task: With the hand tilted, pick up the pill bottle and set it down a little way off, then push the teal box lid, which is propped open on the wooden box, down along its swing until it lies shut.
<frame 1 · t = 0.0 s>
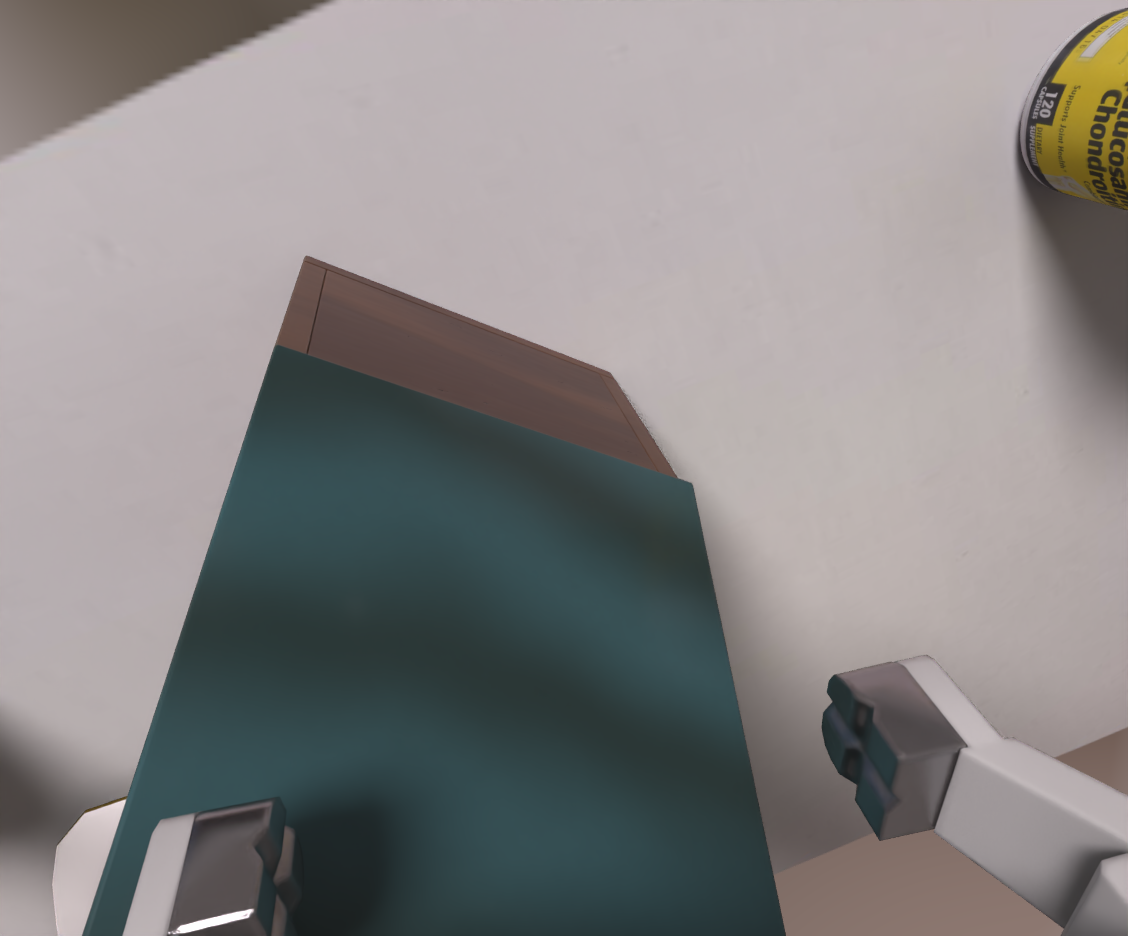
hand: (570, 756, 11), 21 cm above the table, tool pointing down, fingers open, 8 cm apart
pill bottle: (1082, 103, 30), on the table
teal box lid: (499, 710, 16), point 17 cm above the table, hinge at 70.3°
wooden box: (401, 481, 32), on the table
plate: (277, 882, 44), on the table
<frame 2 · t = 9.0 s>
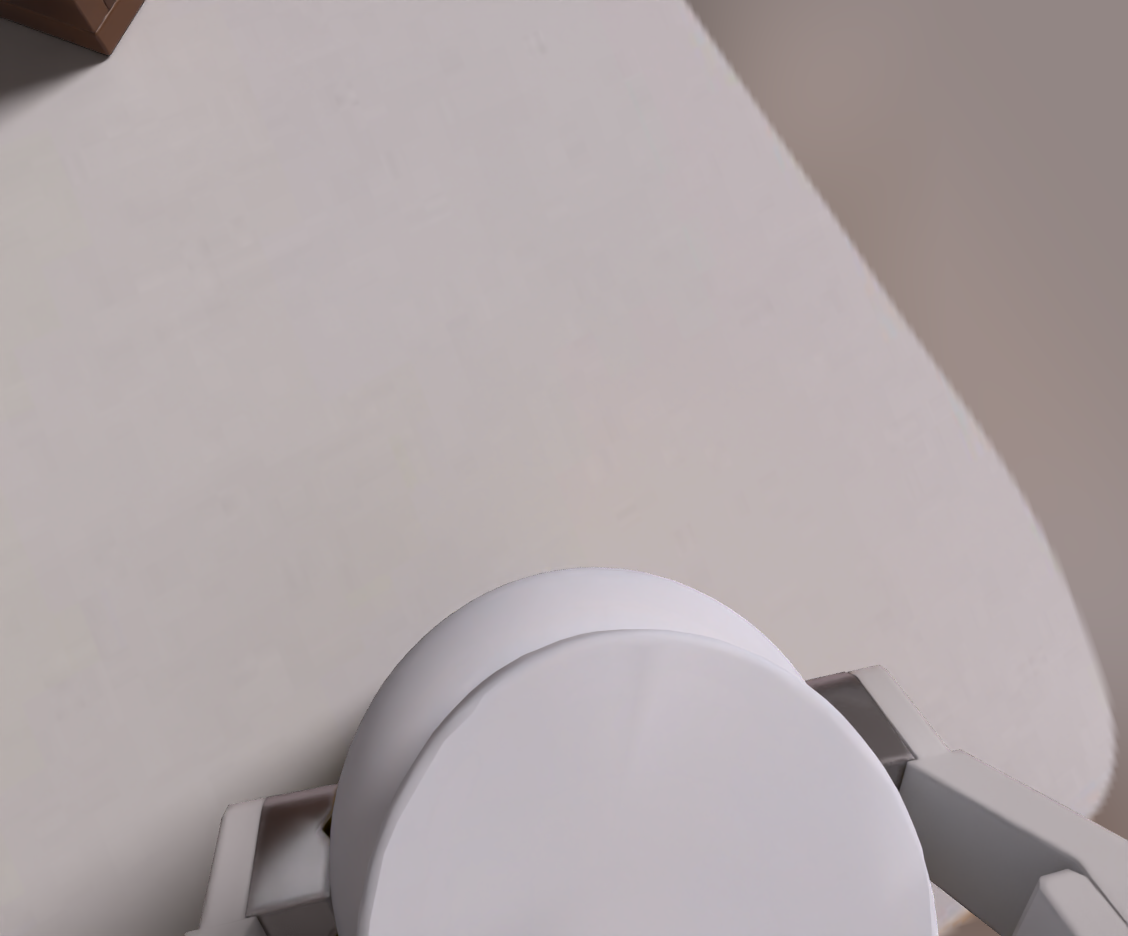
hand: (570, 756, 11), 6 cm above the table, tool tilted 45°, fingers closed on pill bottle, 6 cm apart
pill bottle: (549, 745, 17), on the table, touching gripper
when the fingers open (6 cm above the table, at t = 16.6 s): pill bottle stays where it is, on the table.
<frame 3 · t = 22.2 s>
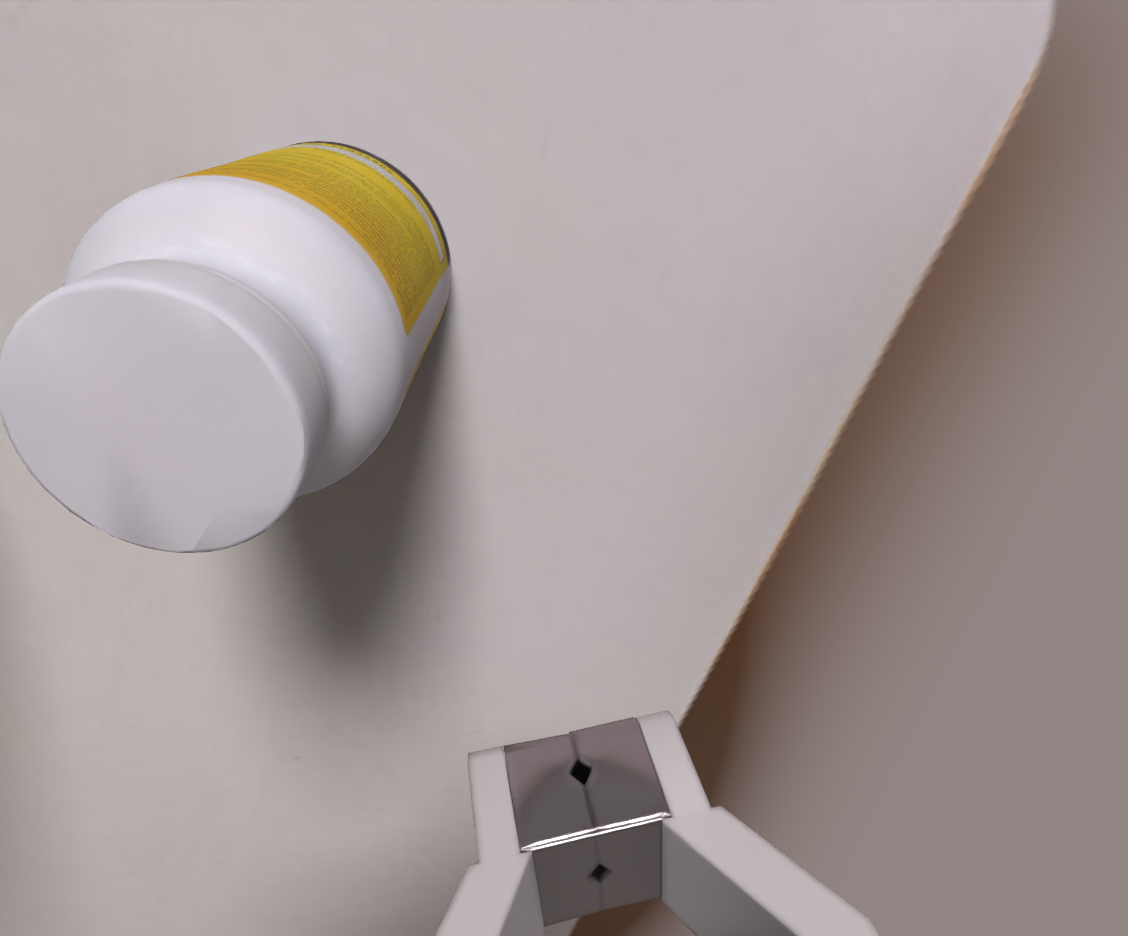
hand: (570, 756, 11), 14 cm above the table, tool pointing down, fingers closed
pill bottle: (345, 258, 22), on the table
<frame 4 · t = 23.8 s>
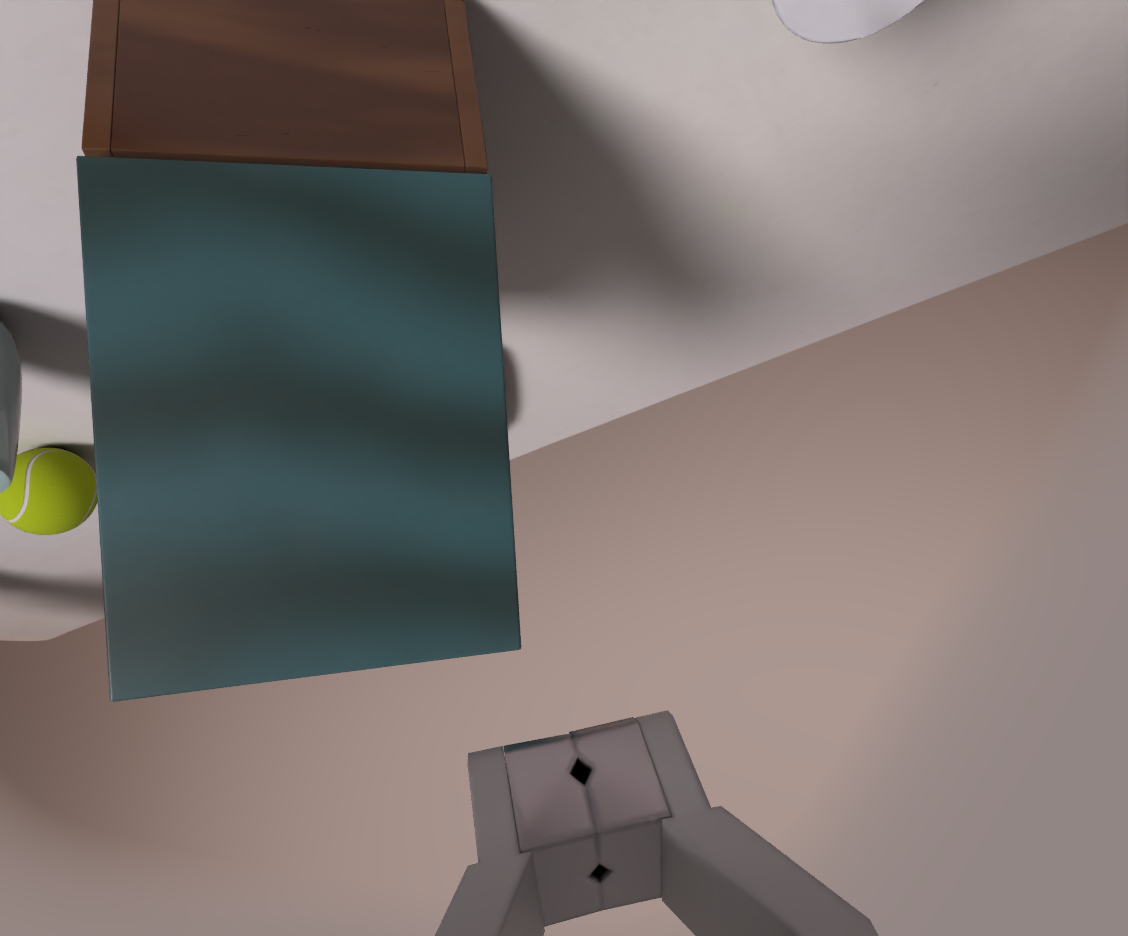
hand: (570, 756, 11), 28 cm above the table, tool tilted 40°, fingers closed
teal box lid: (314, 420, 24), point 17 cm above the table, hinge at 70.3°
tennis ball: (51, 448, 61), on the table
wooden box: (308, 129, 34), on the table
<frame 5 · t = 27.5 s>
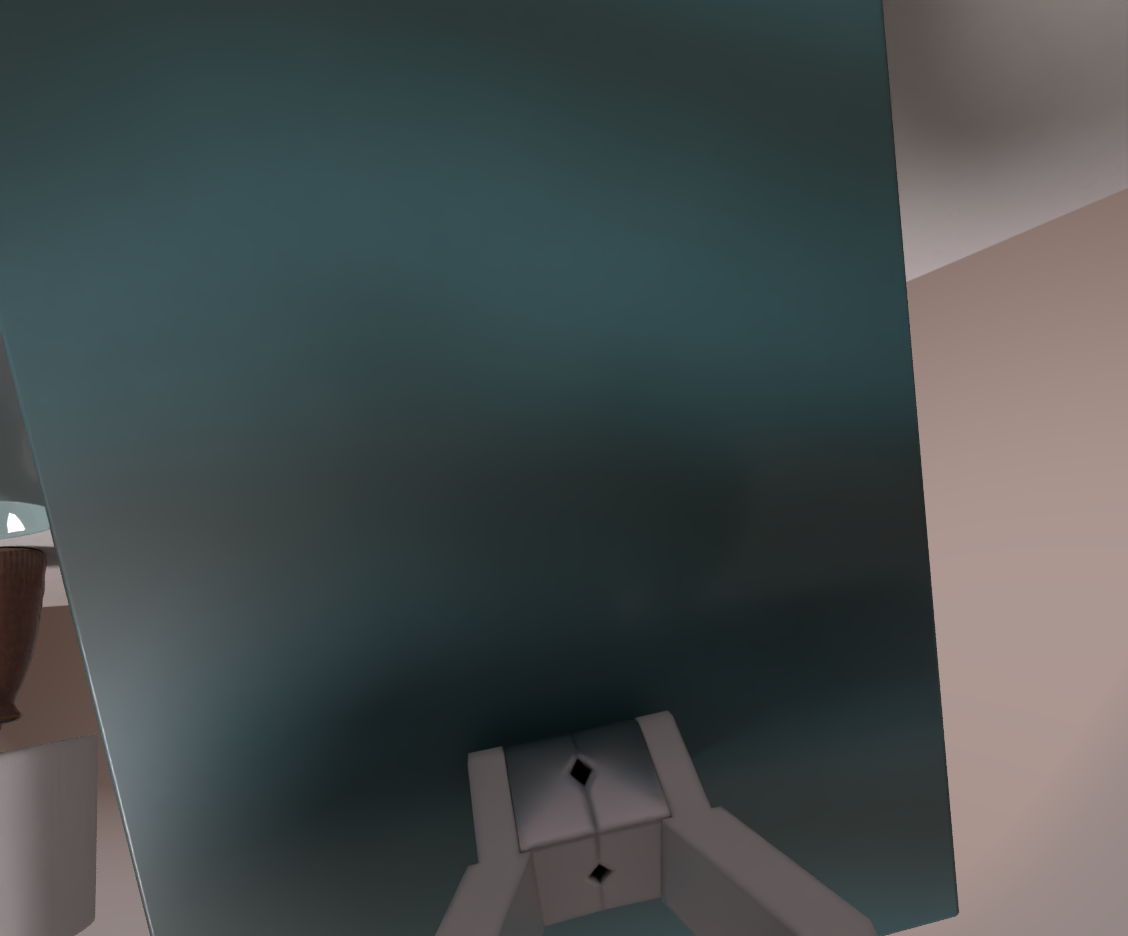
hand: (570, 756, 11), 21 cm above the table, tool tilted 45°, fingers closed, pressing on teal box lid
teal box lid: (524, 511, 11), point 17 cm above the table, hinge at 69.8°, touching gripper
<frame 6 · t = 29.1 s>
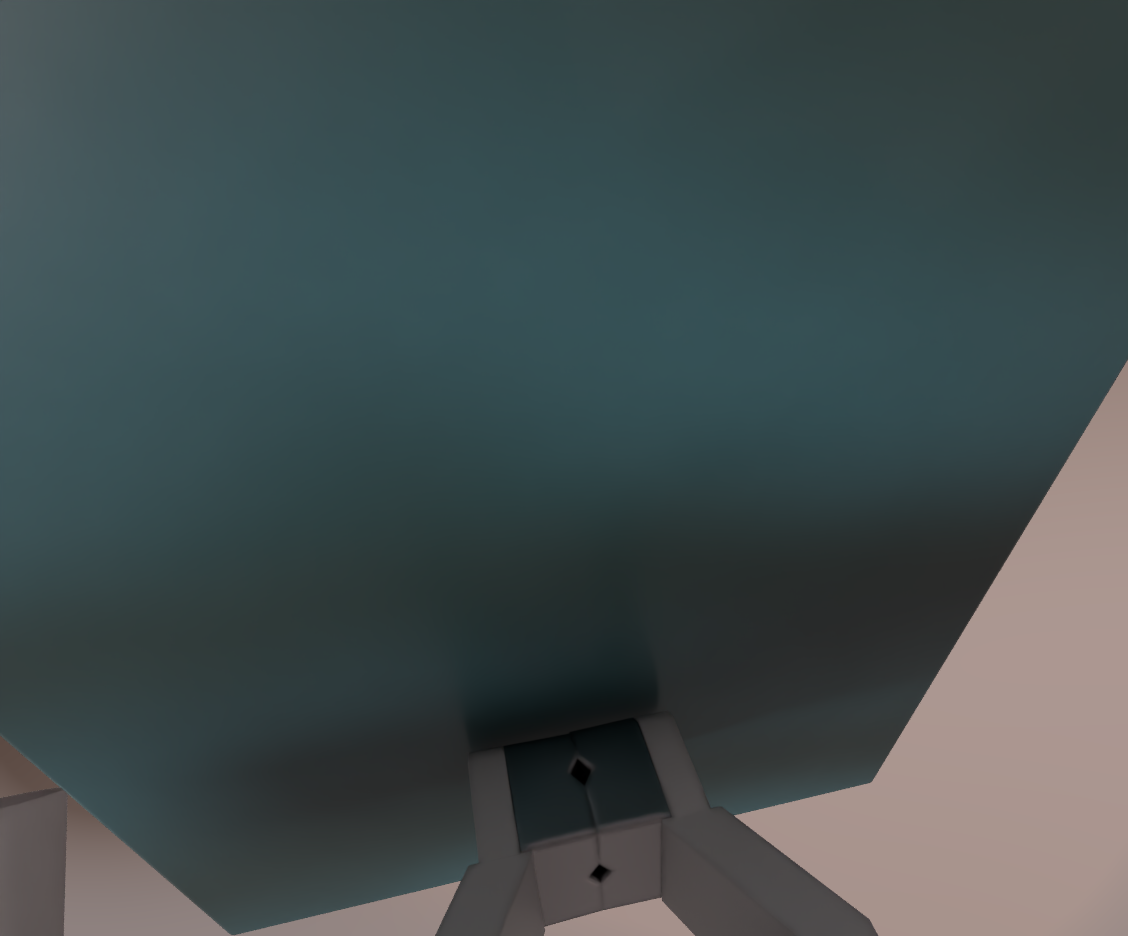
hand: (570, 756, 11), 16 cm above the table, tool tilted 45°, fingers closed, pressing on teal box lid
teal box lid: (551, 573, 9), point 14 cm above the table, hinge at 33.3°, touching gripper
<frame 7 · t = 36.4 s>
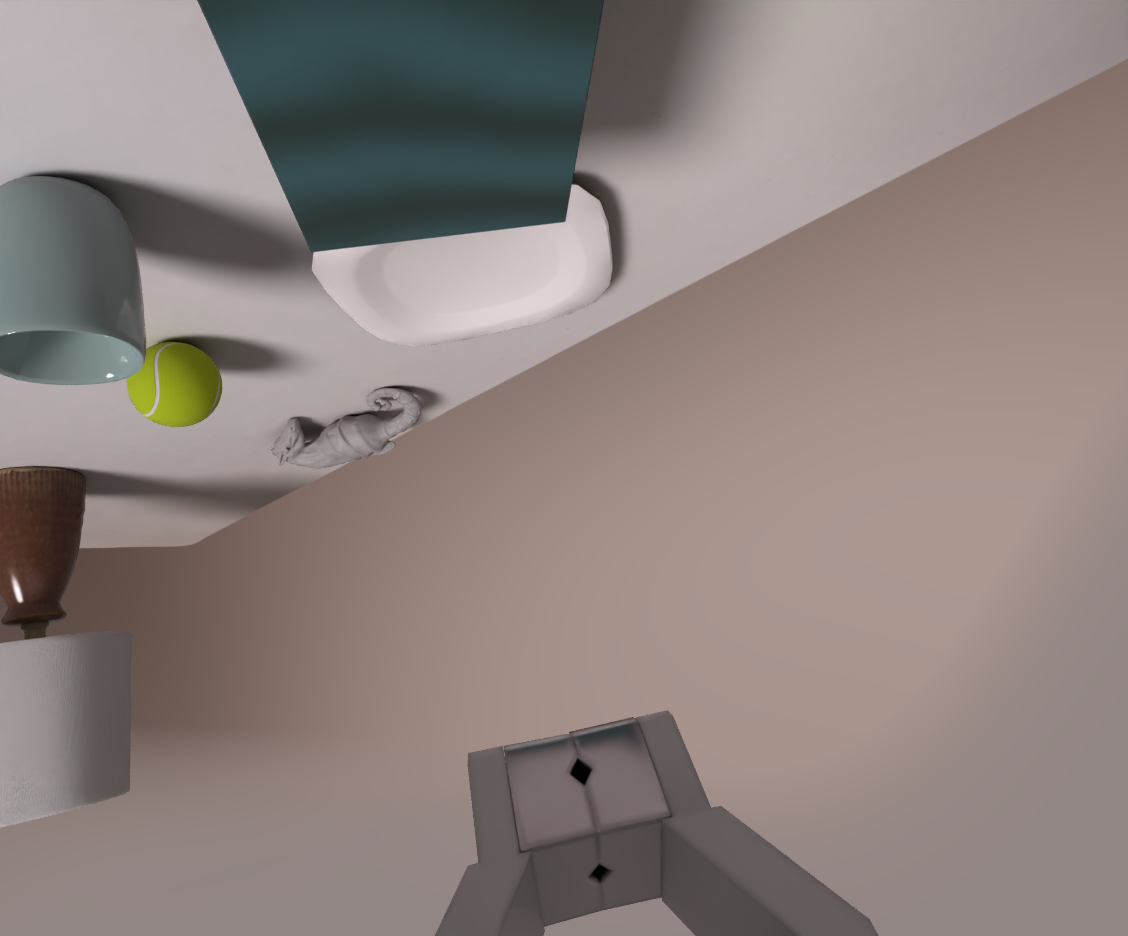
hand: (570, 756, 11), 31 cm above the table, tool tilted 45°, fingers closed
seahorse: (345, 412, 87), on the table
cup: (58, 195, 43), on the table
teal box lid: (426, 116, 29), point 9 cm above the table, hinge at -0.2°, touching wooden box
tennis ball: (172, 343, 63), on the table
lamp: (29, 477, 88), on the table
plate: (471, 259, 59), on the table
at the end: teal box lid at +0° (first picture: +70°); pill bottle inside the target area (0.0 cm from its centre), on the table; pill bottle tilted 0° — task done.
